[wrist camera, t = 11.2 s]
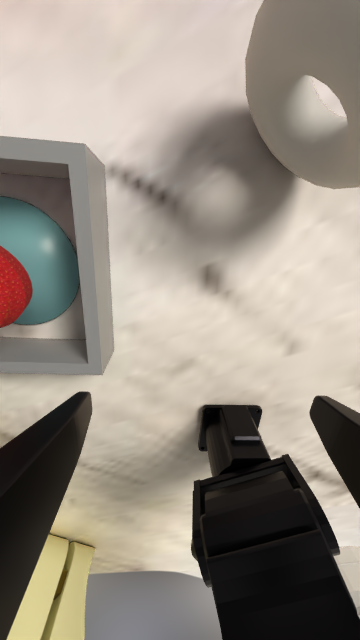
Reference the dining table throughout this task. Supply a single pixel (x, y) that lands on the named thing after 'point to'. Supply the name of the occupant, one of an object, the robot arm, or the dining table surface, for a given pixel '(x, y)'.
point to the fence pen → (59, 259)
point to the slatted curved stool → (55, 594)
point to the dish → (350, 571)
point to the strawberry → (13, 288)
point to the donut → (307, 87)
